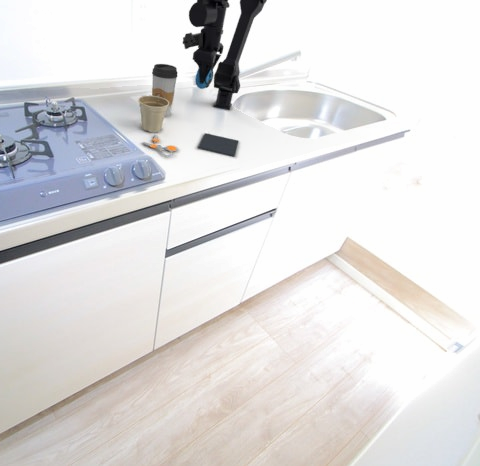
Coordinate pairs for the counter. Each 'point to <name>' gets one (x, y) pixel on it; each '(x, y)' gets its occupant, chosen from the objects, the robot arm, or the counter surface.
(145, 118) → the flower pot
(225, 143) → the mat
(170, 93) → the coffee cup
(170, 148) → the key chain
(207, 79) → the ornament
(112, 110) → the counter surface
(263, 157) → the counter surface
